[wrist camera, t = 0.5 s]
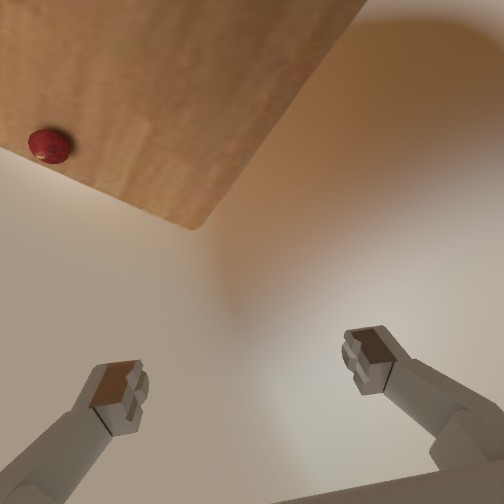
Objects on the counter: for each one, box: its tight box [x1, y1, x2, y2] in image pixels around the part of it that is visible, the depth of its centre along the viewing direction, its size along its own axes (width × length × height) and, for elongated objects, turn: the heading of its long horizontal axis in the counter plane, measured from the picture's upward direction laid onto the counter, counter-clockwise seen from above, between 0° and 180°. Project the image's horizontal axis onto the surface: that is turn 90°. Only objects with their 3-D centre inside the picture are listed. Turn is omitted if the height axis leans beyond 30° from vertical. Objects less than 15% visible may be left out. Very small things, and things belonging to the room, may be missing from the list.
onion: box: [28, 130, 70, 164], centre depth 44 cm, size 6×6×8 cm
